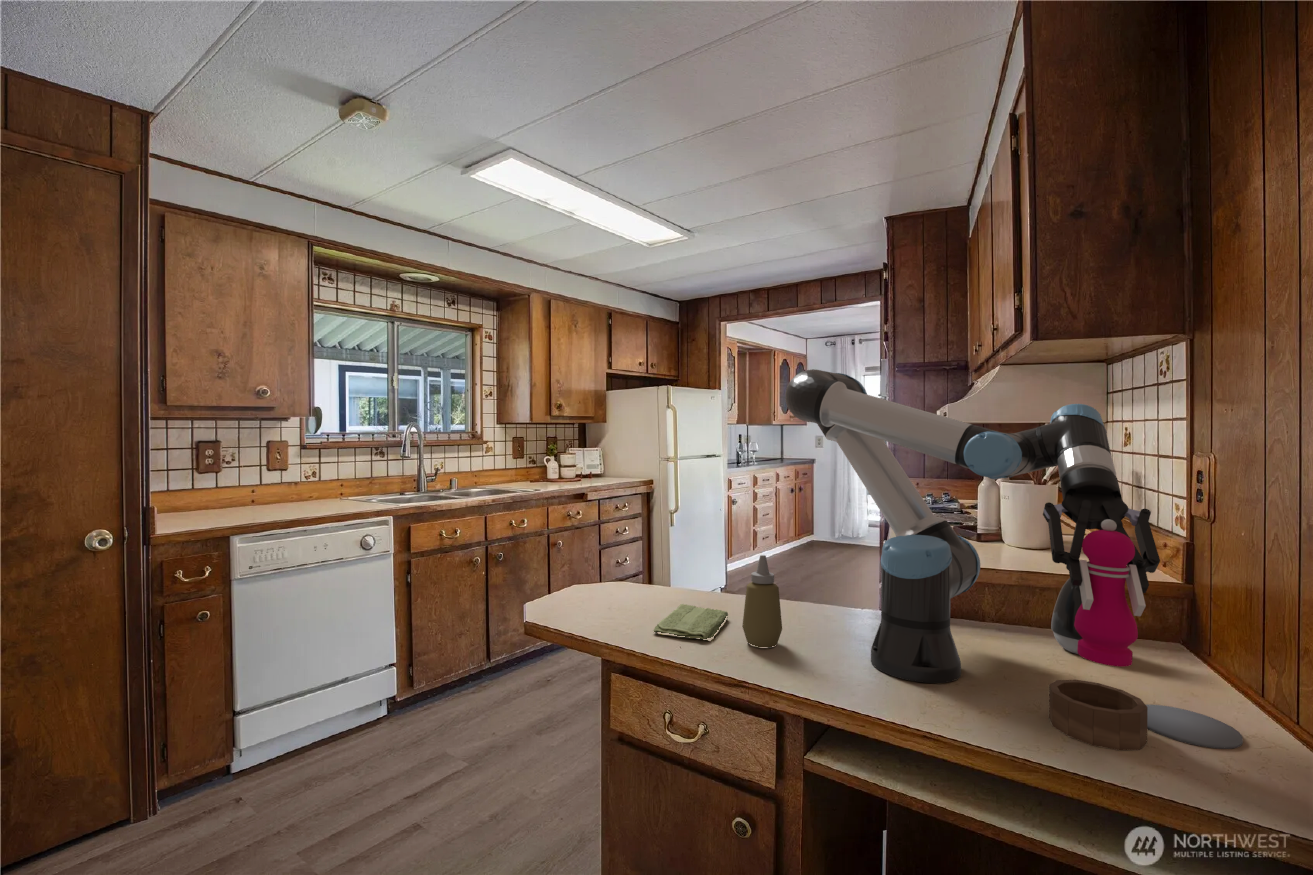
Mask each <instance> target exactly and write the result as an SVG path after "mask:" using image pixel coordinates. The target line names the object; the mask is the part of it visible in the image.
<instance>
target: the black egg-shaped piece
mask: <svg viewBox="0 0 1313 875" xmlns="http://www.w3.org/2000/svg"><path fill="white" fill-rule="evenodd" d="M1081 604H1082V599H1081V593H1080V587H1079V586H1077V585H1072V583H1071V582H1070V577H1069V578H1068V579H1067V580H1066V581H1065V583H1064V584H1063V585H1062V587H1061V589H1060V591H1059V593H1058V595H1057V599H1056V601H1055V605H1054V608H1053V611H1052V617H1051V625H1050V628H1051V631H1052V632H1053V636H1054V638H1055V640H1056V642H1057V643H1058V644H1059V645H1060V646H1061V648H1063V649H1064V650H1066V651H1067V652H1070V653H1072V654H1076V655H1079V654H1078V652H1077V649H1078V641H1079V640H1081V639H1083V638H1082V637H1081V636H1080V634H1079V633H1078V632H1077V630H1076V629H1075V626H1074V623H1075V616H1076V613H1077V611H1078V609H1079V607H1080V605H1081Z"/></svg>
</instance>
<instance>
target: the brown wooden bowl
mask: <svg viewBox="0 0 1313 875" xmlns="http://www.w3.org/2000/svg"><path fill="white" fill-rule="evenodd" d="M1146 705H1147V704H1146V703H1145V702H1144V701H1143V700H1142V698H1140V697H1137V696H1136V695H1133V694H1131V693H1129V692H1127V691H1125V690H1124V689H1121V688H1117V687H1113V686H1109V685H1107V684H1103V683H1099V682H1093V681H1088V680H1082V679H1081V680H1080V679H1057V680H1054V681H1052V682H1050V683H1048V719H1049V722H1050V724H1051V726H1052V727H1053V728H1055V729H1056V730H1058V731H1059V732H1061V733H1062V734H1064V735H1065V736H1067V737H1069V738H1071V739H1074V740H1078V741H1080V742H1083V743H1085V744H1089V745H1091V746H1094V747H1098V748H1099V747H1100V748H1104V749H1110V750H1115V751H1140V750H1143V748H1144V747H1145V746H1147V744H1148V729H1147V714H1148V707H1147V706H1146Z"/></svg>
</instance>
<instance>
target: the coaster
mask: <svg viewBox="0 0 1313 875" xmlns="http://www.w3.org/2000/svg"><path fill="white" fill-rule="evenodd" d="M1145 705H1146V706H1147V707H1148V714H1147V730H1149V731H1150V732H1153V733H1156V734H1157V735H1161V736H1163V737H1166V738H1168V739H1171V740H1173V741H1178V742H1180V743H1184V744H1189V745H1193V746H1197V747H1202V748H1209V749H1219V750H1220V749H1221V750H1229V749H1231V750H1232V749H1237V748H1239V747H1241V746H1242V745H1243V743H1244V741H1243V735H1242V734H1241V732H1240V731H1238V730H1237V729H1236V728H1234V727H1232V726H1230V725H1229V724H1227V723H1226V722H1223V721H1222V720H1218V719H1216V718H1213V717H1211V716H1208V715H1205V714H1202V713H1200V712H1195V711H1192V710H1188V709H1184V708H1179V707H1176V706H1175V707H1174V706H1169V705H1168V706H1167V705H1161V704H1145Z"/></svg>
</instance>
